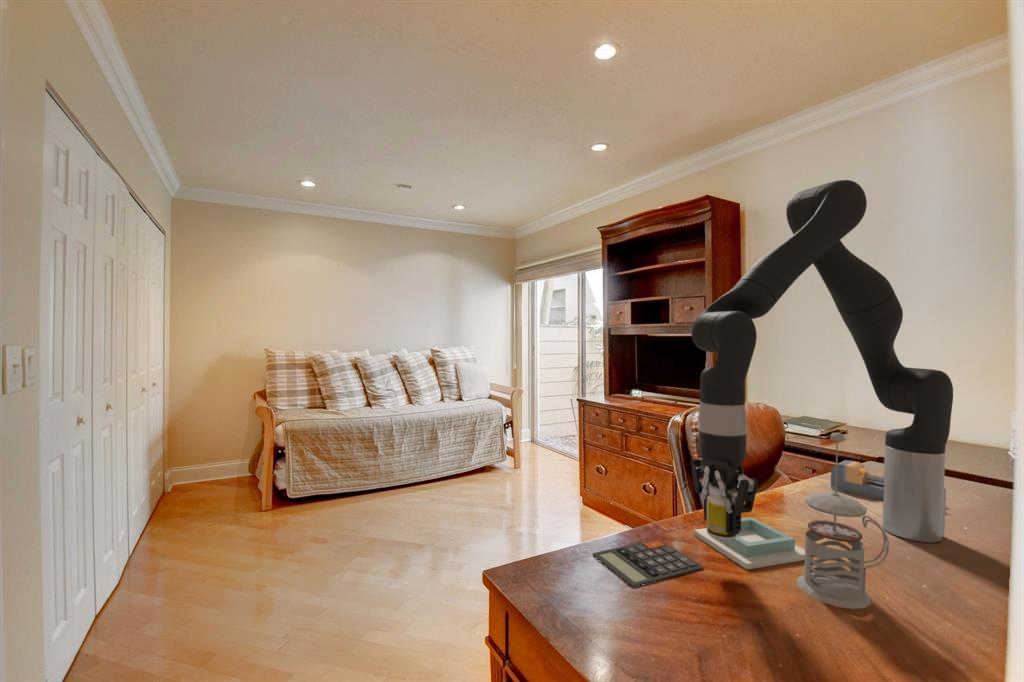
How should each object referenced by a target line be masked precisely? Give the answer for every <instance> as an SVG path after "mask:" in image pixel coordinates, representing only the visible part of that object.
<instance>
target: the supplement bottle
mask: <svg viewBox="0 0 1024 682" xmlns="http://www.w3.org/2000/svg"><path fill="white" fill-rule="evenodd" d="M727 491H728V493H732V492H734V489H733V490H727ZM709 494H710V495H709V496H708V497H707V521H706V528H707V533H708V534H709V535H710V536H711V537H713V538H716V539H719V540H733V539H735V538H736V536H737V534H736V535H729V534H728V533H726V512H727V509H726V505H725V500H724V499H723V498H722V497H721V494H720V489H719V488H718V487H715V486H713V485H711V484H710V485H709ZM732 504H733V505H735V500H734V498H732Z"/></svg>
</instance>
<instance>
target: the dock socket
mask: <svg viewBox="0 0 1024 682" xmlns="http://www.w3.org/2000/svg"><path fill="white" fill-rule="evenodd" d="M693 535H694V536H695V537H696V538H698V539H700V540H701V541H703V542H704V543H706V545H708V546H710V547H711V548H713V549H715V550H716V551H718V552H719V553H721V554H722V555H723V556H725V557H727V558H728V559H730V560H731V561H732V562H734V563H736V564H737V565H739V566H740V567H742V568H743V569H745V570H753V569H759V568H764V567H765V568H766V567H770V566H777V565H783V564H788V563H789V564H790V563H795V562H800V561H805V548H802V547H800V546H798V545H796V539H795V538H793V537H792V536H790V535H788V534H786V533H783V532H782V531H780V530H777V528H774V527H772V526H770V525H768V524H766V523H765V522H762V521H761V520H758V519H757V518H755V517H753V516H747V517H741V531H740V533H739V534H737V536H736V538H735V539H733V540H719V539H716V538H713V537H711V536H710V535H709V534H708V533H707V527H704V528H697V529H693Z"/></svg>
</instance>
